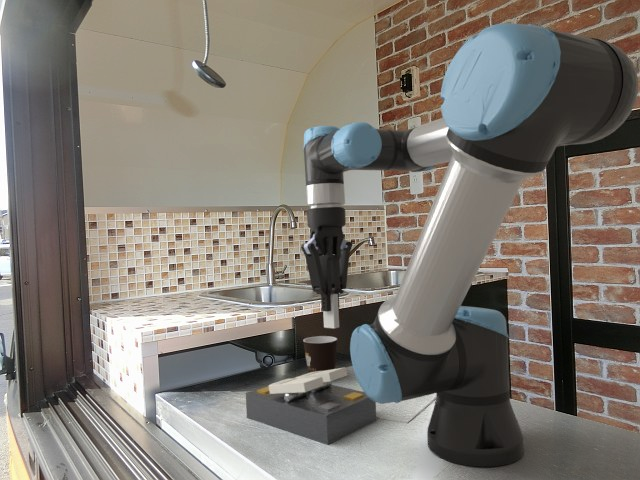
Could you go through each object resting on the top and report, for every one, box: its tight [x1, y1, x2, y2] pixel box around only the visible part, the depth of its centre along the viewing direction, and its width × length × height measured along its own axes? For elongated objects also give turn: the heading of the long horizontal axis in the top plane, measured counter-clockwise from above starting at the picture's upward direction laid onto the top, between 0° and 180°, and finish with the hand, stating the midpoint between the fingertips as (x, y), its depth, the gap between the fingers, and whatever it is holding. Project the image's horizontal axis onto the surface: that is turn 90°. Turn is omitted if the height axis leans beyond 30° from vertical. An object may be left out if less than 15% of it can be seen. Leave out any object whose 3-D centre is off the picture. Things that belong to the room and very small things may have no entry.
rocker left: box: [267, 377, 324, 394], centre depth 95 cm, size 10×5×2 cm, turn 47°
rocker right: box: [295, 367, 348, 382], centre depth 100 cm, size 10×5×2 cm, turn 47°
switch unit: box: [245, 376, 377, 446], centre depth 98 cm, size 22×14×6 cm, turn 47°
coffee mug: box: [302, 335, 338, 373], centre depth 127 cm, size 12×9×10 cm
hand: (331, 327), depth 97 cm, fingers closed
